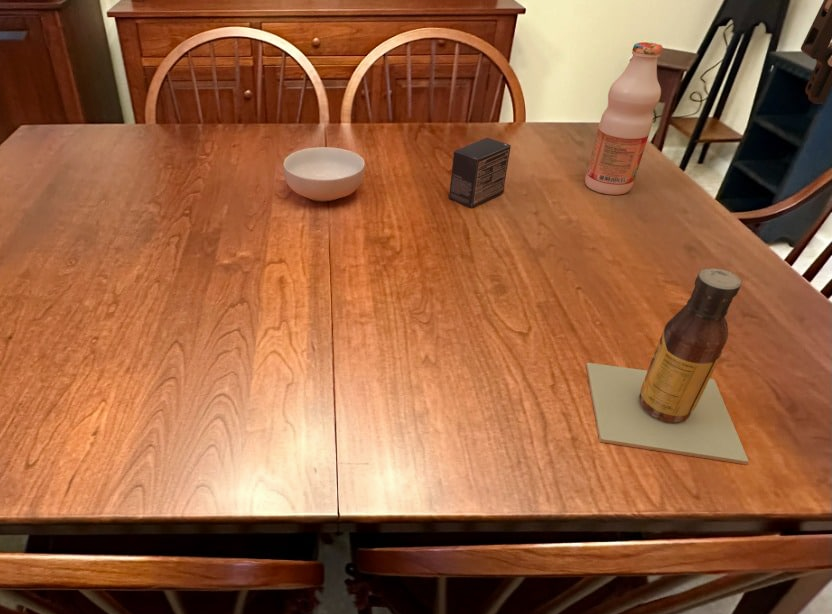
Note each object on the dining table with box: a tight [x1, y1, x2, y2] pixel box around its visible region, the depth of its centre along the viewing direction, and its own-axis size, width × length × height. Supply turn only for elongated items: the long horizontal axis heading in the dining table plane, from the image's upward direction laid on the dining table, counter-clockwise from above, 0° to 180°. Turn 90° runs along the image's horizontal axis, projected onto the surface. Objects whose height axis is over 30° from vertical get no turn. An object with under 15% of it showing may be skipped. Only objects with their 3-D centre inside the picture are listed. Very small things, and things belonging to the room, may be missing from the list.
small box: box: [448, 137, 512, 209], centre depth 122 cm, size 11×6×10 cm, turn 130°
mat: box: [585, 362, 750, 465], centre depth 76 cm, size 16×14×1 cm
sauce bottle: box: [639, 267, 742, 422], centre depth 70 cm, size 6×6×20 cm
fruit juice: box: [584, 41, 663, 196], centre depth 119 cm, size 9×9×28 cm
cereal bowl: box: [282, 146, 366, 203], centre depth 125 cm, size 17×17×7 cm
